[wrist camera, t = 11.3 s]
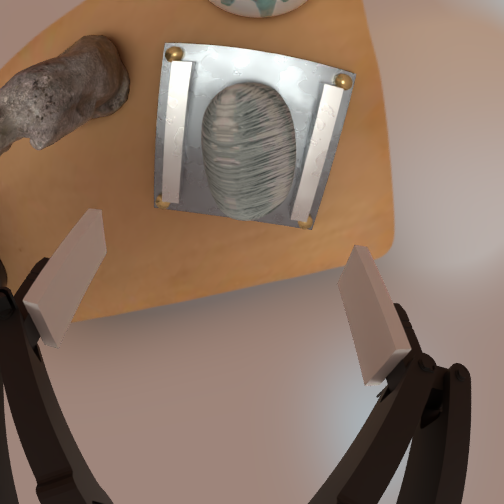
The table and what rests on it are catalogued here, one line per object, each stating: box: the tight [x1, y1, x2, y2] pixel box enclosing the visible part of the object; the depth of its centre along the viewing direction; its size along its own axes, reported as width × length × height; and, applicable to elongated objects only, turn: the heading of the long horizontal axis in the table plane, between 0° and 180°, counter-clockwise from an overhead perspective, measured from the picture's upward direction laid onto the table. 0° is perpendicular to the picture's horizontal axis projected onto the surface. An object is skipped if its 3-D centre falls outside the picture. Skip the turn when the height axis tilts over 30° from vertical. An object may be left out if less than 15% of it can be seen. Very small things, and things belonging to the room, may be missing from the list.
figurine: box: [0, 35, 130, 156], centre depth 19 cm, size 13×12×18 cm
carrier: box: [154, 43, 356, 230], centre depth 31 cm, size 20×20×3 cm
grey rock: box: [201, 82, 296, 221], centre depth 28 cm, size 14×10×10 cm
